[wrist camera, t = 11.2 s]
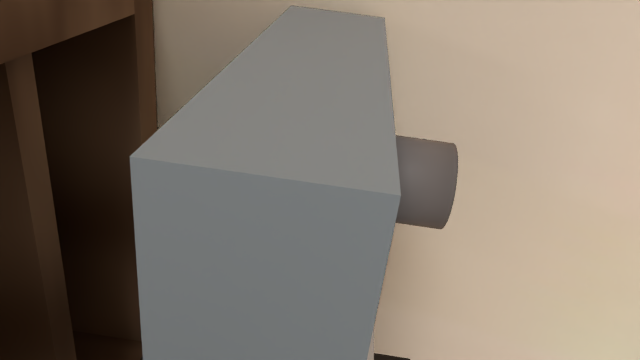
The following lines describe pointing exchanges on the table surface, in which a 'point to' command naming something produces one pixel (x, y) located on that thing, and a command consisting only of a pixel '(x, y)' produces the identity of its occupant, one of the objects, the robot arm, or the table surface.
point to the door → (281, 199)
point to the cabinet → (72, 175)
